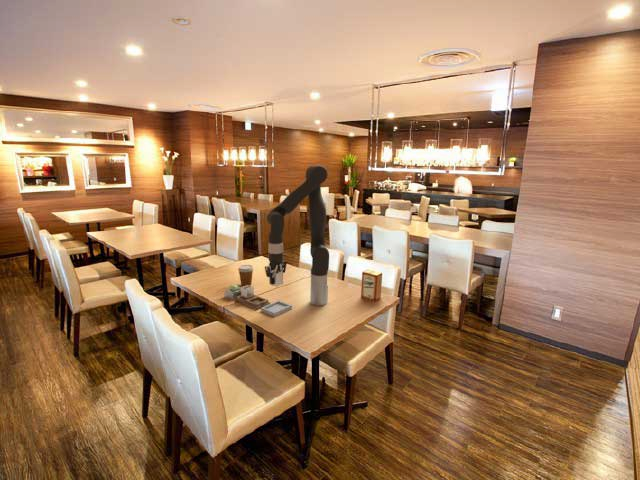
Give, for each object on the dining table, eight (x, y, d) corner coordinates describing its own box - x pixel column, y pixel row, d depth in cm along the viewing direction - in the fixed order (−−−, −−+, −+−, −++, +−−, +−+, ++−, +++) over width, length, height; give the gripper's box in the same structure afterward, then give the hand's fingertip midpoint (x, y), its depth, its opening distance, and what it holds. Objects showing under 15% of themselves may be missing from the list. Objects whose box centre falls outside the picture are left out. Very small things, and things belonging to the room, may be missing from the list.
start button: (235, 290, 191) (234, 284, 190) (238, 292, 189) (238, 285, 188) (230, 292, 188) (230, 286, 187) (234, 294, 186) (233, 287, 185)
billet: (276, 281, 173) (276, 269, 172) (283, 284, 170) (282, 271, 169) (269, 284, 169) (269, 271, 168) (276, 286, 167) (276, 273, 165)
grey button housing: (235, 293, 194) (235, 286, 193) (244, 296, 190) (244, 289, 189) (224, 297, 188) (224, 289, 187) (233, 300, 183) (233, 293, 182)
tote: (278, 303, 181) (278, 300, 180) (292, 308, 175) (292, 305, 175) (261, 311, 171) (261, 307, 170) (274, 316, 165) (274, 313, 164)
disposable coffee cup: (236, 284, 208) (235, 266, 206) (249, 281, 214) (249, 263, 212) (242, 288, 201) (242, 270, 199) (256, 285, 207) (256, 267, 205)
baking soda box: (380, 298, 192) (382, 272, 189) (375, 301, 187) (377, 274, 184) (366, 293, 198) (368, 268, 194) (361, 297, 193) (362, 271, 189)
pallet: (248, 295, 191) (248, 291, 190) (270, 304, 180) (270, 299, 179) (234, 301, 183) (234, 296, 182) (256, 310, 172) (256, 305, 172)
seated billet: (248, 296, 187) (247, 284, 185) (253, 298, 184) (253, 286, 182) (241, 299, 183) (240, 287, 181) (247, 301, 180) (246, 289, 178)
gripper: (280, 247, 174) (280, 277, 178) (260, 252, 163) (260, 284, 166) (290, 249, 169) (290, 280, 173) (270, 255, 158) (271, 288, 162)
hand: (276, 282), depth 170 cm, fingers closed on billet, 5 cm apart
